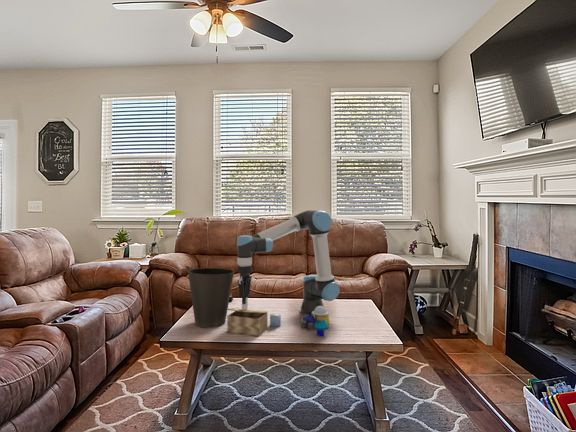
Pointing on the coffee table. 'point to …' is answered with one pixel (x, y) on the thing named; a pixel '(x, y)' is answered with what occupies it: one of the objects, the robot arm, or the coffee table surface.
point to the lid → (248, 310)
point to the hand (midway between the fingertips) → (244, 309)
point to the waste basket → (210, 295)
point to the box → (247, 323)
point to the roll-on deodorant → (275, 320)
